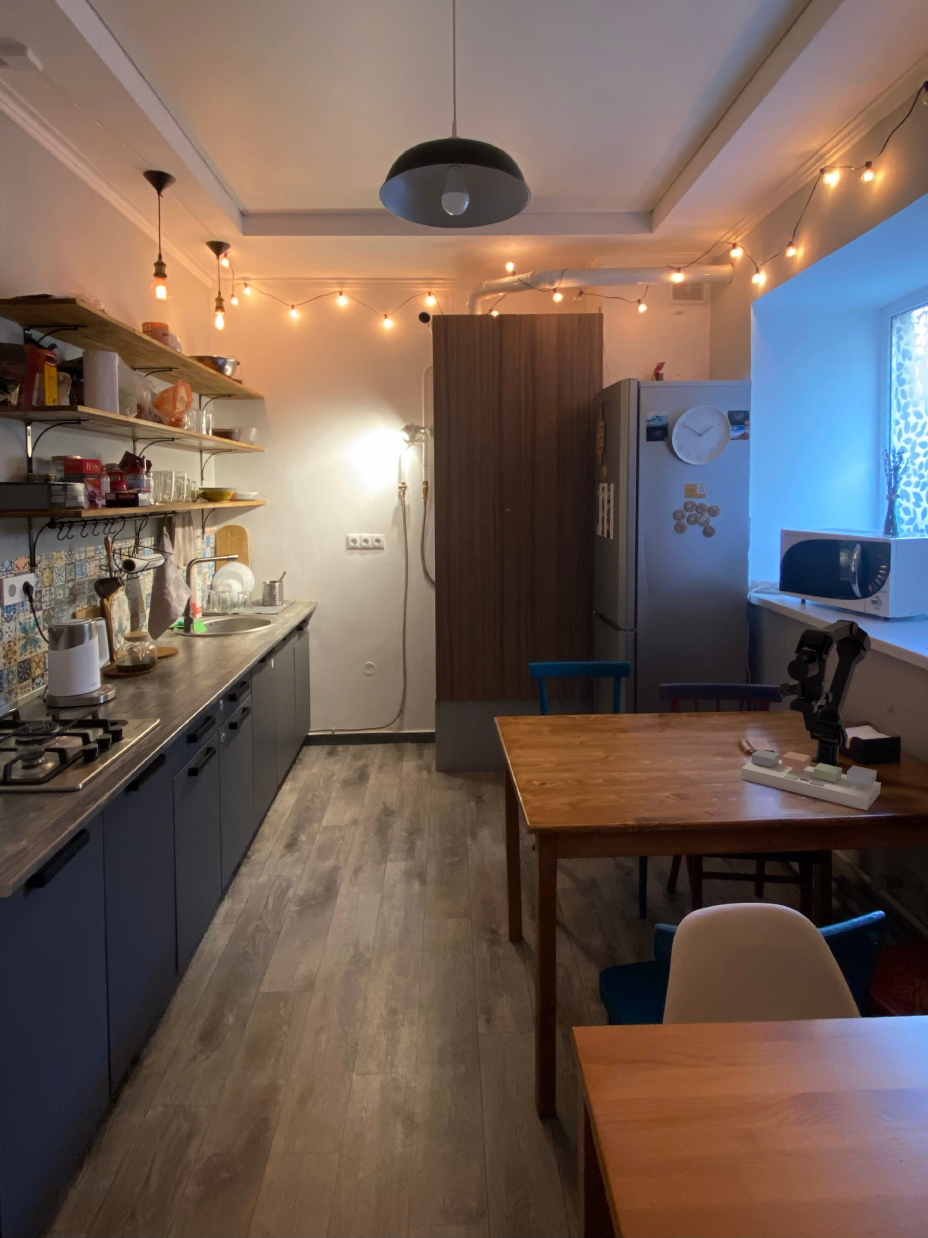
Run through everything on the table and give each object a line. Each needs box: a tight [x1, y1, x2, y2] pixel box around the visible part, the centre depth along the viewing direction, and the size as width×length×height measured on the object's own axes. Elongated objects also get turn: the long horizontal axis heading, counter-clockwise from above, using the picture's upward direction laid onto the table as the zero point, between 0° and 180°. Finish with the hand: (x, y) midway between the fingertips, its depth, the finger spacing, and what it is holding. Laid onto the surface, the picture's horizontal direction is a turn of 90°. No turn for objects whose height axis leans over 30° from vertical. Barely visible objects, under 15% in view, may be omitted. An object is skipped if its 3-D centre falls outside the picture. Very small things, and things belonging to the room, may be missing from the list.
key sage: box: [813, 763, 843, 783], centre depth 202 cm, size 6×6×2 cm
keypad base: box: [740, 759, 882, 811], centre depth 204 cm, size 14×31×3 cm, turn 50°
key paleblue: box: [846, 765, 878, 786], centre depth 196 cm, size 6×6×2 cm
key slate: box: [750, 748, 780, 767], centre depth 212 cm, size 6×6×2 cm
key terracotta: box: [781, 750, 812, 770], centre depth 206 cm, size 6×6×2 cm
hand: (808, 730), depth 212 cm, fingers closed
